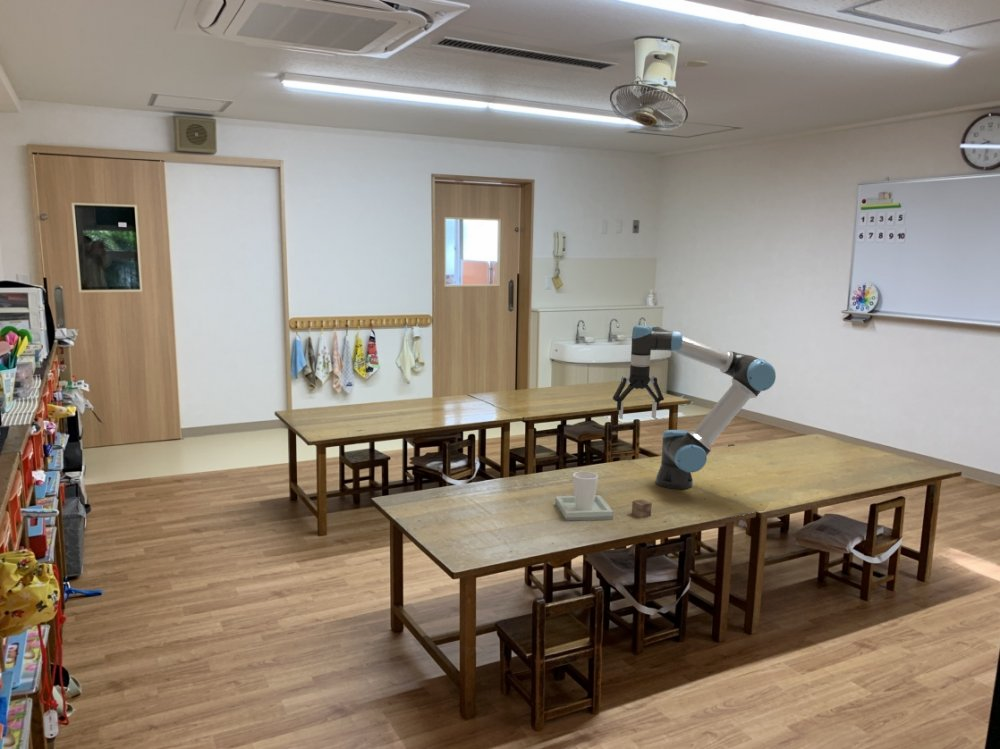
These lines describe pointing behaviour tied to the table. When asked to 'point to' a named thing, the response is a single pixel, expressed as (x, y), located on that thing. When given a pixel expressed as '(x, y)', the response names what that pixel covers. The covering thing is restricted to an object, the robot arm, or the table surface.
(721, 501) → the table surface
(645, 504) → the walnut block
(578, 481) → the foam cup
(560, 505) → the tray
